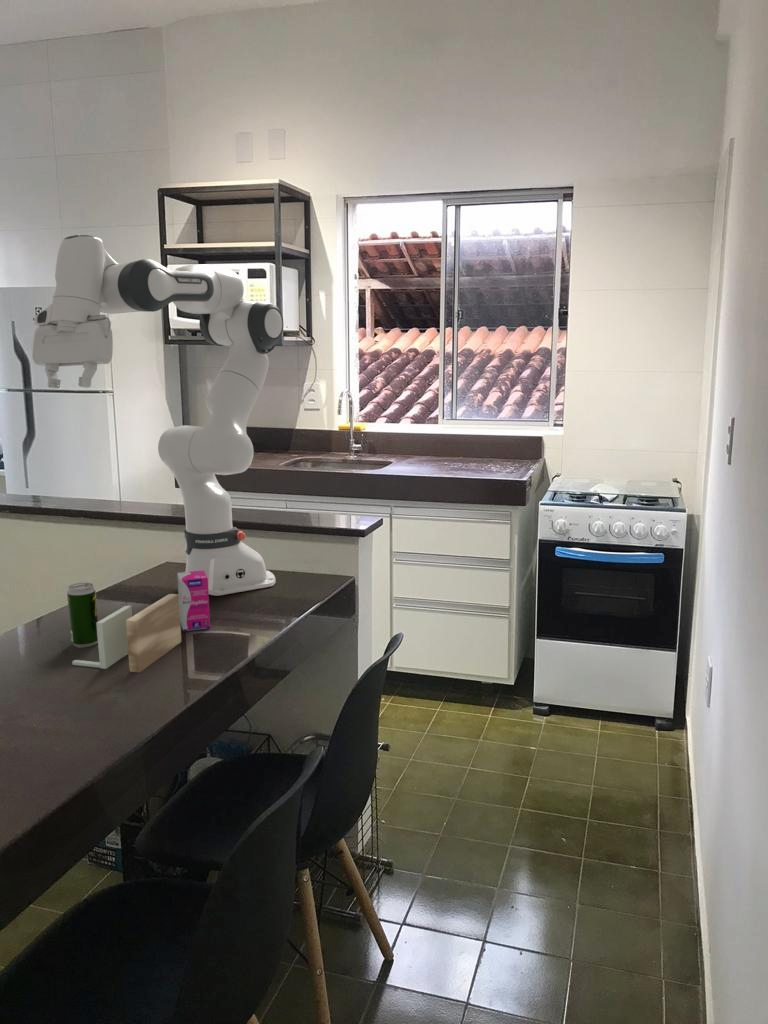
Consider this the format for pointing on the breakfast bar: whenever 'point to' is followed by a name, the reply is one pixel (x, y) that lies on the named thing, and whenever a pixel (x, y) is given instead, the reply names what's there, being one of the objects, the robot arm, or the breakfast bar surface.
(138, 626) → the oak board
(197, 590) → the supplement box
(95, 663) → the white legged plate
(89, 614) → the beer can
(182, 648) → the breakfast bar surface
